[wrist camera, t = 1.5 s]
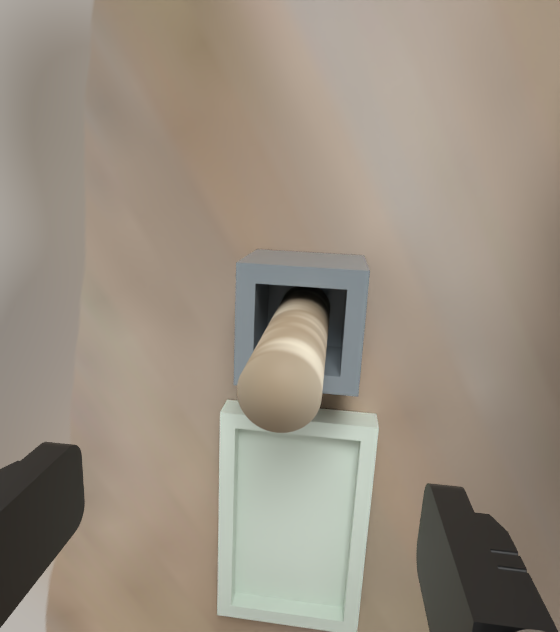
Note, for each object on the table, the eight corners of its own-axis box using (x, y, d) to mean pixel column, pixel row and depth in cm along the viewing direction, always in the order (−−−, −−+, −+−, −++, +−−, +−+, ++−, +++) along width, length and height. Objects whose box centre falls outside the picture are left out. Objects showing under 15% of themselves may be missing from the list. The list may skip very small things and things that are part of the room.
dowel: (331, 285, 29) (324, 357, 16) (328, 333, 29) (318, 436, 17) (282, 282, 29) (237, 349, 17) (280, 329, 30) (235, 428, 17)
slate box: (364, 255, 29) (369, 270, 23) (355, 358, 31) (358, 396, 25) (256, 248, 30) (236, 262, 24) (253, 350, 31) (233, 385, 26)
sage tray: (376, 413, 31) (378, 428, 29) (355, 611, 35) (356, 635, 34) (227, 399, 32) (220, 412, 31) (223, 592, 37) (217, 614, 35)
